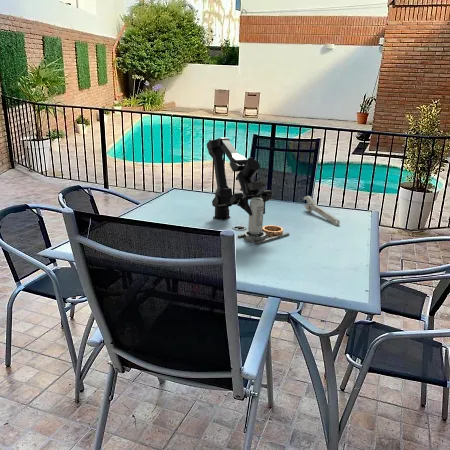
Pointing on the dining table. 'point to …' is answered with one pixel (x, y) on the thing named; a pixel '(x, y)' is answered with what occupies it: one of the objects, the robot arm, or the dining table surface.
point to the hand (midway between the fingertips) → (257, 214)
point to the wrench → (320, 211)
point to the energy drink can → (256, 215)
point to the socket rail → (264, 234)
